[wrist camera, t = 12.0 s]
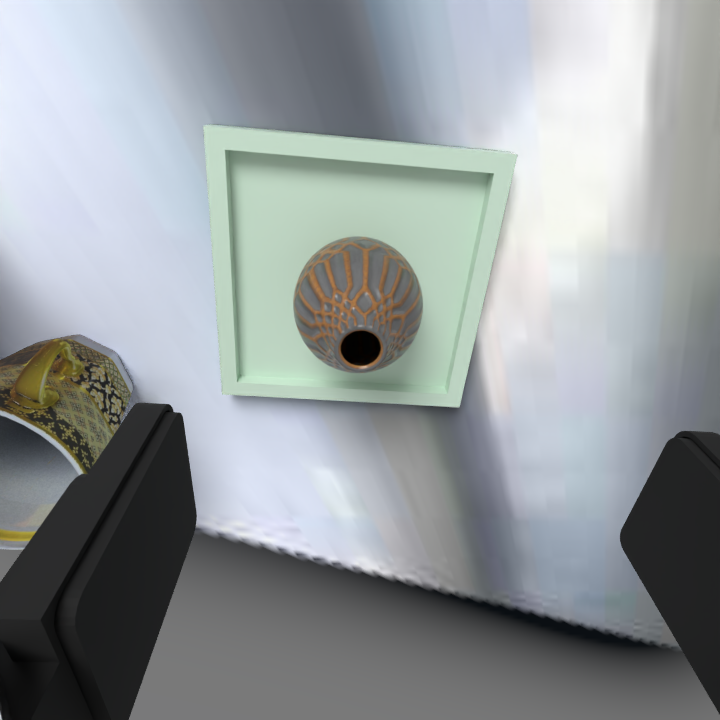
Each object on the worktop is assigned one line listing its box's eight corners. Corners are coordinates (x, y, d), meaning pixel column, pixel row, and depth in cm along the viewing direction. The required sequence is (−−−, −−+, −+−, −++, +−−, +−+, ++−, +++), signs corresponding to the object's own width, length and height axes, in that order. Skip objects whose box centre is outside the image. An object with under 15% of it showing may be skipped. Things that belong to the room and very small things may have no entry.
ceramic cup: (127, 455, 35) (57, 573, 27) (-14, 396, 32) (-145, 506, 24) (200, 324, 30) (141, 417, 22) (40, 239, 27) (-103, 308, 19)
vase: (362, 351, 31) (367, 436, 23) (276, 287, 29) (251, 358, 21) (437, 274, 28) (471, 341, 21) (350, 197, 26) (351, 240, 18)
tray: (508, 151, 26) (517, 154, 24) (454, 395, 33) (459, 407, 32) (210, 124, 25) (203, 125, 23) (227, 382, 32) (222, 394, 31)
